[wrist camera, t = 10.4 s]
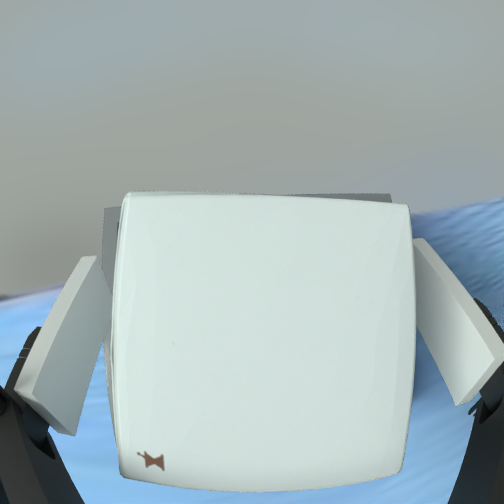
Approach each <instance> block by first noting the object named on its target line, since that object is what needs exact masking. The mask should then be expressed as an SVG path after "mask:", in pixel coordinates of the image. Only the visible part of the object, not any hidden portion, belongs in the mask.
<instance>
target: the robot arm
mask: <svg viewBox="0 0 504 504" xmlns="http://www.w3.org/2000/svg"><path fill="white" fill-rule="evenodd" d="M413 249H414V263H415V284H416V326H417V328H418V330H419V332H420V333H421V335H422V337H423V339H424V341H425V343H426V345H427V347H428V349H429V351H430V353H431V355H432V357H433V359H434V360H435V363H436V365H437V367H438V369H439V371H440V373H441V375H442V377H443V379H444V381H445V383H446V385H447V387H448V390H449V392H450V394H451V396H452V398H453V401H454V403H455V405H456V406H459V405H461V404H464V403H466V402H469V401H471V400H472V399H473V398H474V397H475V395H476V394H477V393H478V392H480V394H481V396H482V397H481V398H480V399H479V400H478V401H477V403H476V404H475V405H474V406H473V407H472V408H471V409H470V410H469V413H468V414H469V415H470V414H471V413H472V412H473V411H474V410H475V409H476V408H477V410H476V413H475V414H474V415H473V416H475V419H474V423H473V427H472V431H471V435H470V439H469V443H468V446H467V450H466V453H465V456H464V460H463V463H462V466H461V469H460V472H459V475H458V478H457V480H456V483H455V486H454V489H453V491H452V494H451V496H450V499H449V501H448V504H504V332H503V330H502V329H501V327H500V326H499V325H497V322H496V320H495V319H494V317H493V318H492V315H491V313H490V312H489V310H488V309H487V308H486V306H485V305H483V304H482V303H481V302H480V301H479V300H477V299H476V298H475V299H473V298H472V297H471V296H470V294H469V293H468V292H467V290H466V289H465V288H464V287H463V285H462V284H461V283H460V281H459V280H458V279H457V278H456V276H455V275H454V274H453V273H452V271H451V270H450V269H449V268H448V266H447V265H446V264H445V263H444V261H443V260H442V259H441V258H440V257H439V255H438V254H437V253H436V252H435V251H434V250H433V248H432V247H431V246H430V245H429V244H428V243H427V242H426V240H425V239H424V238H417V239H413ZM112 305H113V297H112V295H111V292H110V289H109V287H108V284H107V281H106V279H105V276H104V273H103V270H102V268H101V265H100V262H99V259H98V256H88V257H87V256H86V257H82V258H81V260H80V261H79V263H78V264H77V266H76V268H75V269H74V271H73V273H72V274H71V276H70V277H69V279H68V281H67V283H66V284H65V286H64V288H63V289H62V291H61V293H60V295H59V296H58V298H57V300H56V302H55V304H54V305H53V307H52V309H51V311H50V313H49V315H48V317H47V318H46V320H45V322H44V324H43V326H42V327H37V328H36V329H35V330H34V331H33V332H32V333H31V334H30V335H29V336H28V338H27V340H26V342H25V344H24V346H23V349H22V350H21V352H20V354H19V358H18V359H17V361H16V363H15V365H14V367H13V370H12V372H11V374H10V376H9V379H8V381H7V383H6V386H5V388H4V389H3V388H2V387H1V386H0V504H85V503H84V501H83V500H82V498H81V496H80V494H79V493H78V491H77V489H76V487H75V485H74V483H73V481H72V480H71V478H70V476H69V474H68V472H67V470H66V468H65V466H64V463H63V461H62V459H61V457H60V455H59V453H58V450H57V448H56V446H55V444H54V441H53V439H52V437H51V435H50V434H49V432H48V428H49V425H50V426H51V427H52V428H53V429H54V430H56V431H57V432H58V433H62V434H66V435H71V436H75V435H76V431H77V427H78V423H79V419H80V415H81V411H82V408H83V404H84V400H85V397H86V393H87V390H88V386H89V383H90V380H91V376H92V373H93V370H94V367H95V364H96V360H97V357H98V354H99V351H100V348H101V345H102V342H103V340H104V337H105V334H106V331H107V328H108V325H109V323H110V320H111V317H112Z"/></svg>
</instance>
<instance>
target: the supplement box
mask: <svg viewBox="0 0 504 504" xmlns="http://www.w3.org/2000/svg"><path fill="white" fill-rule="evenodd" d="M415 353H416V284H415V263H414V249H413V238H412V229H411V219H410V210H409V207H408V206H407V205H406V204H396V203H386V202H375V201H362V200H348V199H332V198H316V197H296V196H282V195H267V194H248V193H224V192H196V191H131V192H128V193H127V194H126V196H125V198H124V200H123V203H122V207H121V216H120V222H119V229H118V239H117V251H116V261H115V272H114V285H113V305H112V329H111V358H110V359H111V368H112V392H113V407H114V420H115V432H116V442H117V451H118V459H119V470H120V474H121V475H122V476H123V477H124V478H127V479H132V480H138V481H143V482H149V483H154V484H160V485H166V486H173V487H180V488H188V489H198V490H209V491H227V492H283V491H300V490H311V489H320V488H328V487H336V486H342V485H350V484H355V483H361V482H367V481H371V480H376V479H380V478H384V477H387V476H391V475H394V474H397V473H399V472H400V471H401V469H402V465H403V460H404V455H405V448H406V442H407V436H408V429H409V421H410V414H411V406H412V396H413V385H414V372H415Z"/></svg>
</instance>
